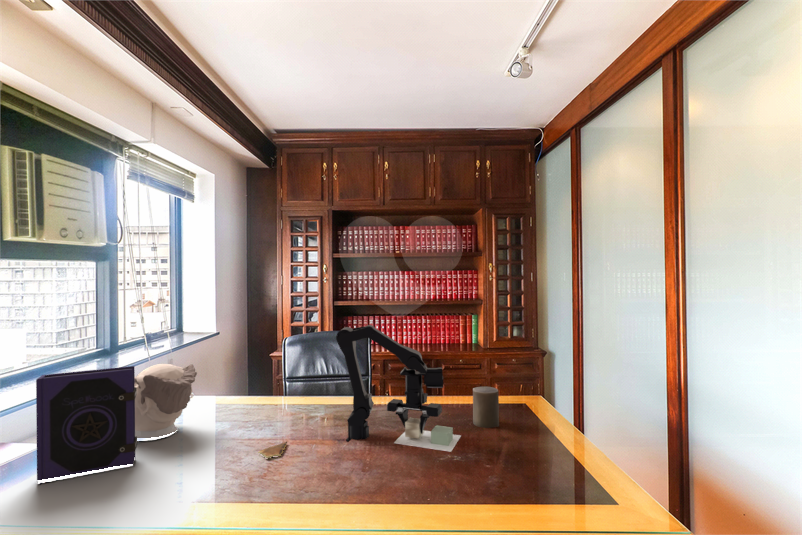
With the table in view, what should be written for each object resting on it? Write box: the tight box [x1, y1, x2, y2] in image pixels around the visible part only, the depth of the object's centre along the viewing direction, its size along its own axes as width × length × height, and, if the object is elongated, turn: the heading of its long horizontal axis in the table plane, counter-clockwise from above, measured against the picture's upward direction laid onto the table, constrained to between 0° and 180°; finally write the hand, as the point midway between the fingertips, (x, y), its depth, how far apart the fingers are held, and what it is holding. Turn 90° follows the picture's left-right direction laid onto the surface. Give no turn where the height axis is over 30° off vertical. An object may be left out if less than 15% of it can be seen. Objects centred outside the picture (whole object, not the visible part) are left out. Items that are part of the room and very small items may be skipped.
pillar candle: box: [472, 386, 500, 429], centre depth 160 cm, size 10×10×15 cm
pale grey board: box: [393, 430, 462, 453], centre depth 145 cm, size 20×14×1 cm
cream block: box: [404, 417, 425, 439], centre depth 147 cm, size 5×5×5 cm
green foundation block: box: [431, 425, 454, 446], centre depth 143 cm, size 6×6×4 cm
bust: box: [135, 363, 198, 438], centre depth 156 cm, size 26×20×30 cm
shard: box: [257, 441, 288, 459], centre depth 138 cm, size 11×8×2 cm
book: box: [35, 365, 138, 481], centre depth 127 cm, size 24×6×30 cm, turn 117°
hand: (414, 432), depth 147 cm, fingers closed on cream block, 5 cm apart
